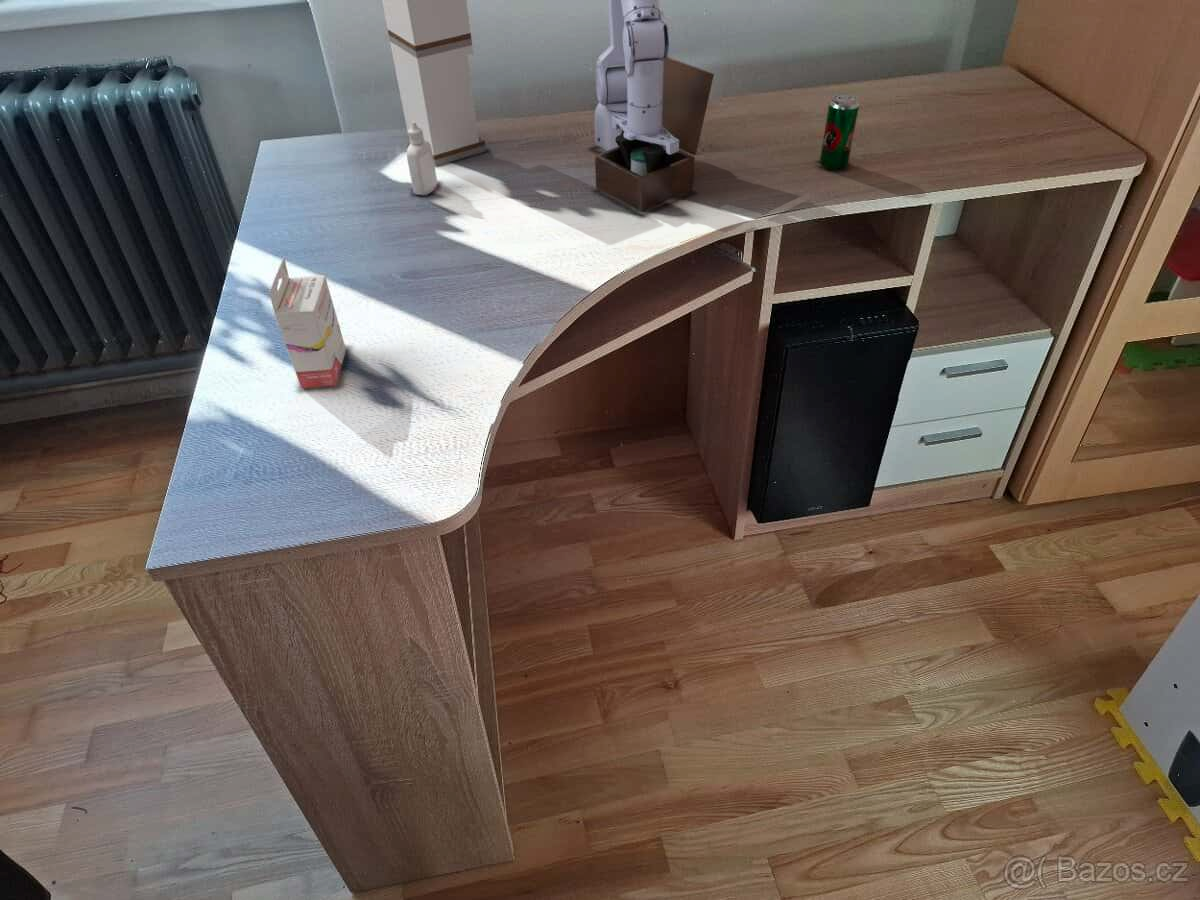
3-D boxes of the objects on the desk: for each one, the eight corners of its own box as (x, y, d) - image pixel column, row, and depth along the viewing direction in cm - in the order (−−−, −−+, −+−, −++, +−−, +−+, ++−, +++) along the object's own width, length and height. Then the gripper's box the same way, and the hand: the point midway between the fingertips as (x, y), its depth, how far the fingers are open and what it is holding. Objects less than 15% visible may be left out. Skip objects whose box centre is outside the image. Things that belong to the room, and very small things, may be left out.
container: (624, 187, 142) (624, 152, 138) (645, 178, 144) (645, 144, 140) (643, 196, 139) (643, 161, 135) (663, 187, 141) (664, 153, 137)
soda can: (847, 172, 146) (860, 104, 137) (818, 170, 146) (830, 103, 138) (847, 160, 149) (860, 93, 141) (819, 158, 150) (830, 91, 142)
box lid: (711, 73, 129) (714, 73, 130) (660, 54, 136) (663, 54, 137) (693, 155, 137) (696, 154, 137) (646, 133, 143) (648, 133, 144)
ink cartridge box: (339, 387, 106) (307, 290, 96) (300, 389, 106) (264, 293, 96) (348, 347, 112) (319, 252, 102) (311, 350, 112) (279, 255, 102)
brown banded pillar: (485, 151, 156) (458, -59, 132) (435, 166, 152) (398, -48, 128) (458, 131, 163) (428, -72, 139) (410, 145, 159) (370, -61, 135)
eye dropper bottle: (445, 187, 146) (434, 120, 138) (420, 198, 143) (406, 130, 135) (431, 179, 148) (419, 113, 140) (405, 190, 145) (392, 123, 137)
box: (641, 216, 136) (641, 179, 132) (595, 191, 143) (594, 155, 139) (692, 193, 142) (694, 157, 137) (646, 170, 148) (647, 135, 144)
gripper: (597, 95, 134) (599, 173, 143) (657, 121, 126) (655, 202, 135) (629, 83, 137) (630, 161, 146) (690, 108, 129) (686, 189, 138)
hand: (644, 180), depth 141 cm, fingers closed on container, 4 cm apart
